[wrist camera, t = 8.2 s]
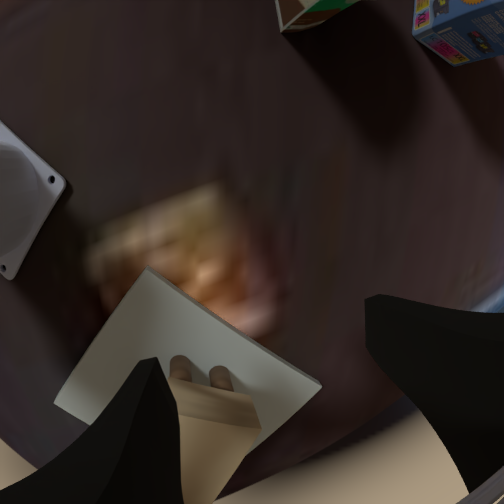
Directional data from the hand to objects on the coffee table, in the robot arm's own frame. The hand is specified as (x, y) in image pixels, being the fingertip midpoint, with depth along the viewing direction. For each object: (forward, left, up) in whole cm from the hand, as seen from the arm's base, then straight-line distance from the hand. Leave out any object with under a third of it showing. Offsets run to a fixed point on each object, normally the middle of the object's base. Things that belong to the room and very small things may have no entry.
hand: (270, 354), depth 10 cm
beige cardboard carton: (+4, -10, -10) cm, 14 cm away
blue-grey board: (+4, -10, -10) cm, 15 cm away
